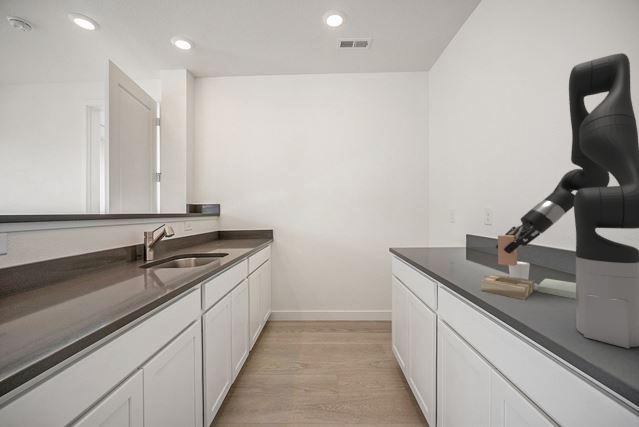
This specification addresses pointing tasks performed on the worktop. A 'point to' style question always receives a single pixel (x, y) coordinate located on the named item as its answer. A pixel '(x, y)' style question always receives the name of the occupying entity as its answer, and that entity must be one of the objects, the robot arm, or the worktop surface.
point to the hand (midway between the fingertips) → (501, 250)
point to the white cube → (520, 270)
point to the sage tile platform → (558, 288)
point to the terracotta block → (503, 256)
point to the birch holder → (508, 286)
